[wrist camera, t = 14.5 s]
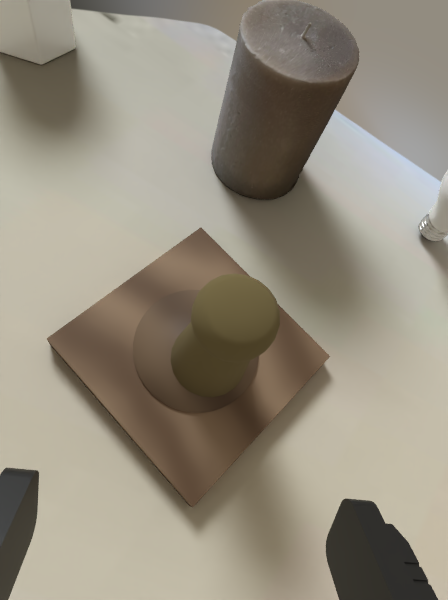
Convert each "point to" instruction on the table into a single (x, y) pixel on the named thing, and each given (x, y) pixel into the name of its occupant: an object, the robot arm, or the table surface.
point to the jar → (36, 29)
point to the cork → (224, 334)
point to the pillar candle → (280, 95)
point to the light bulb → (437, 216)
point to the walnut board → (159, 375)
